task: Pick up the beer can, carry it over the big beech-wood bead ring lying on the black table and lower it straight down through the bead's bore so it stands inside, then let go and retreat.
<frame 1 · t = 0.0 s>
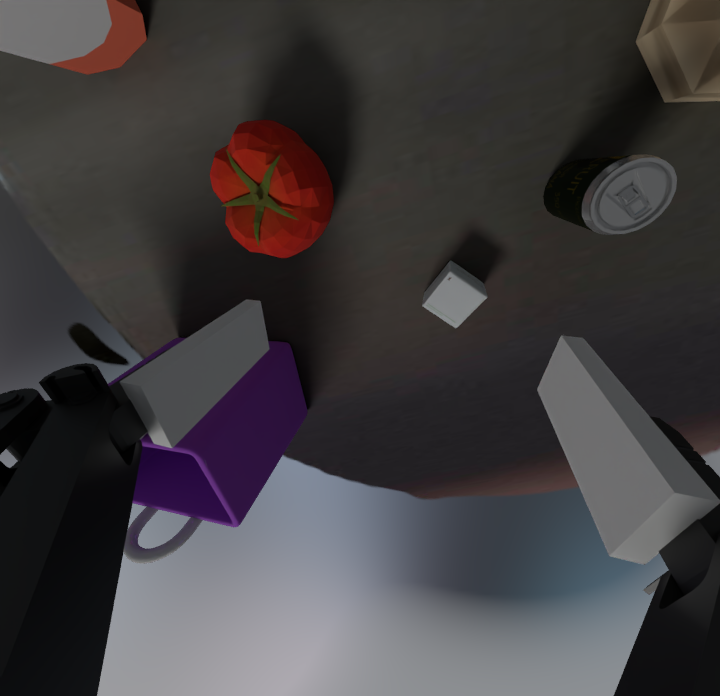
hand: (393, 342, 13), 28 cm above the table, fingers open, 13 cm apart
beer can: (569, 189, 31), on the table
shopping bag: (245, 374, 58), on the table
french fries container: (121, 30, 33), on the table
tomato: (295, 192, 38), on the table
small box: (452, 287, 39), on the table
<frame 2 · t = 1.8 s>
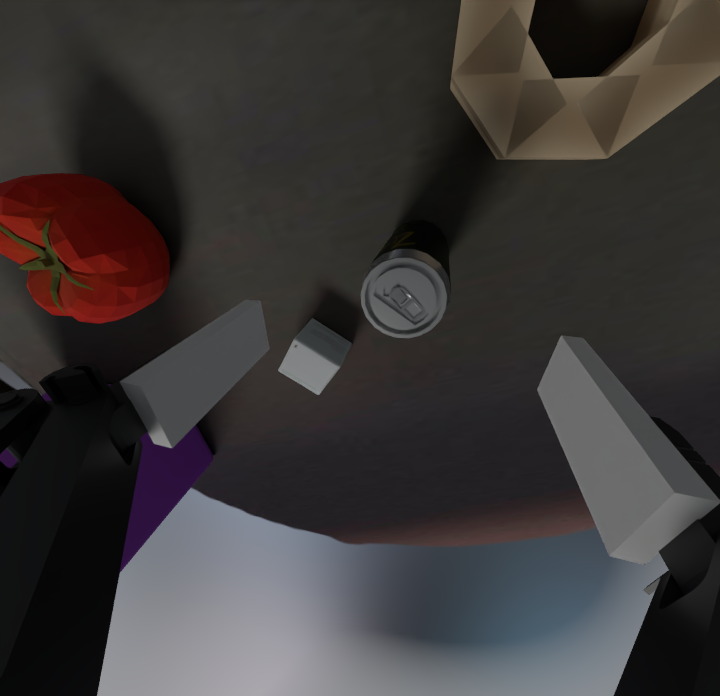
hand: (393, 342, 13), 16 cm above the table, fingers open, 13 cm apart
beer can: (417, 249, 26), on the table
shopping bag: (146, 417, 54), on the table
tomato: (139, 240, 33), on the table
small box: (323, 344, 35), on the table
bead ring: (579, 19, 17), on the table
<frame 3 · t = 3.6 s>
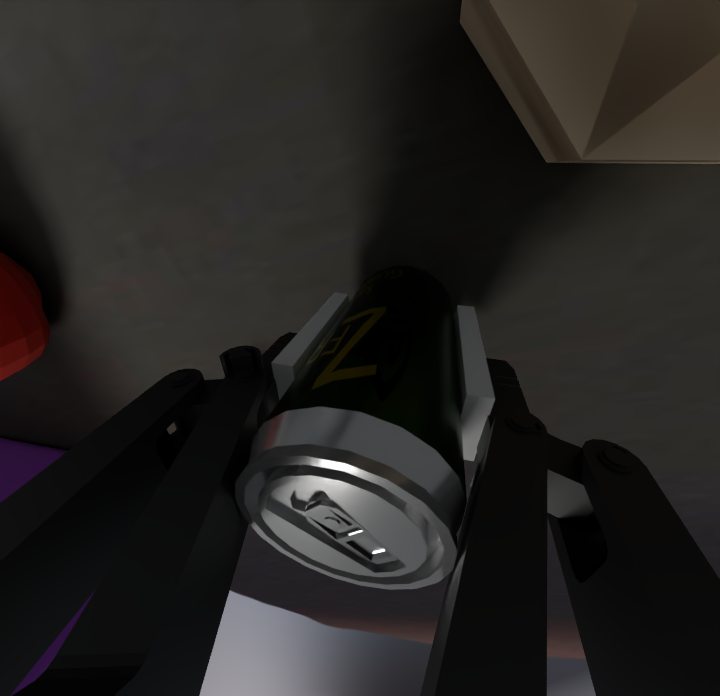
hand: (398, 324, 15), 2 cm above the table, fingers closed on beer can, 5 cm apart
beer can: (403, 308, 16), on the table, touching gripper
shopping bag: (76, 479, 44), on the table
tomato: (9, 276, 23), on the table
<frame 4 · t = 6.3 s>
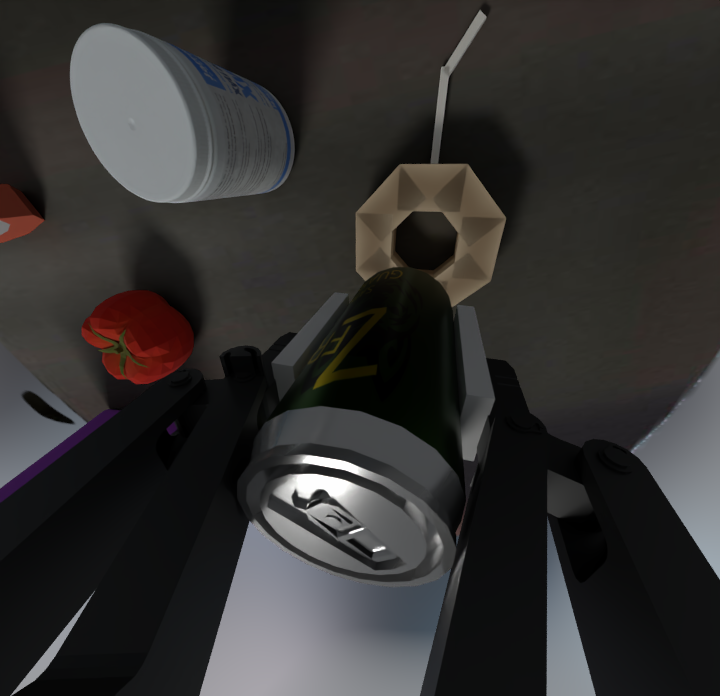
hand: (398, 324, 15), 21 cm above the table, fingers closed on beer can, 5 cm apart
beer can: (403, 309, 16), point 19 cm above the table, touching gripper
shopping bag: (167, 438, 68), on the table
french fries container: (26, 212, 43), on the table
tomato: (171, 321, 48), on the table
bead ring: (425, 240, 31), on the table
drinking straw: (439, 119, 26), on the table
supplement tub: (257, 143, 31), on the table
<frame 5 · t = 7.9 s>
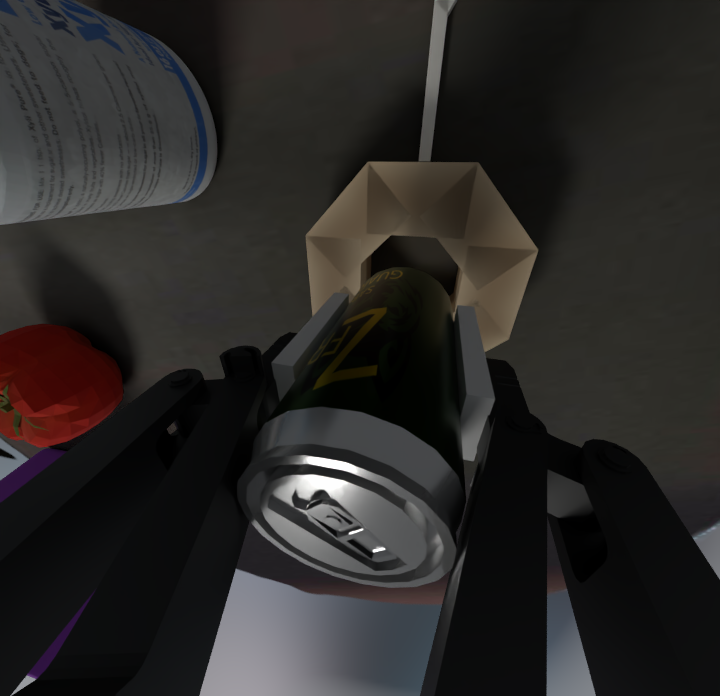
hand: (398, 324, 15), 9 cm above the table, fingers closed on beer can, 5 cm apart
beer can: (403, 309, 16), point 7 cm above the table, touching gripper
shopping bag: (117, 480, 58), on the table
tomato: (98, 358, 38), on the table
bead ring: (412, 272, 22), on the table
drinking straw: (432, 90, 16), on the table
supplement tub: (166, 129, 21), on the table
when the fingers open (5 cm above the table, at t = 9.0 s): beer can drops 3 cm, resting in bead ring.
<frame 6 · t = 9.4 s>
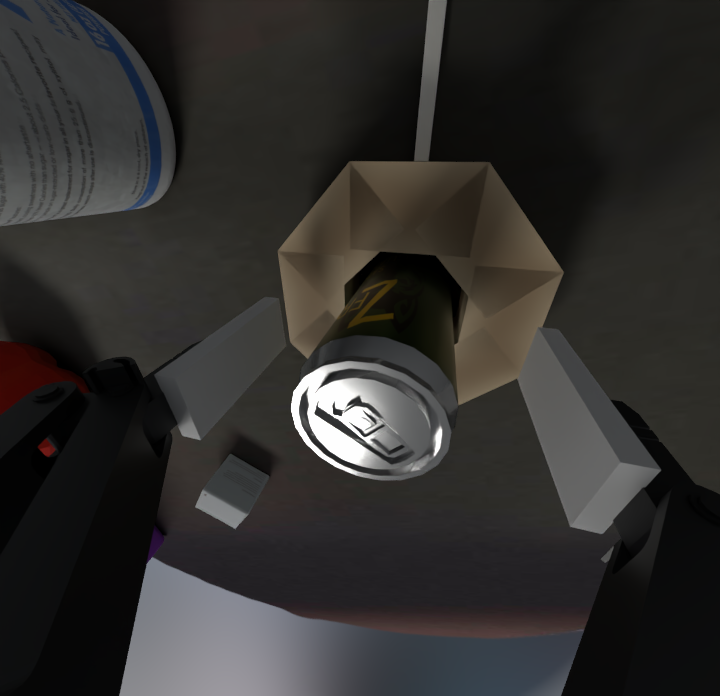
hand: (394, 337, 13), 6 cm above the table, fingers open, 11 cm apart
beer can: (407, 290, 19), resting in bead ring
tomato: (66, 376, 35), on the table
small box: (245, 471, 36), on the table
bead ring: (407, 291, 19), on the table
drinking straw: (431, 72, 13), on the table
supplement tub: (117, 123, 18), on the table
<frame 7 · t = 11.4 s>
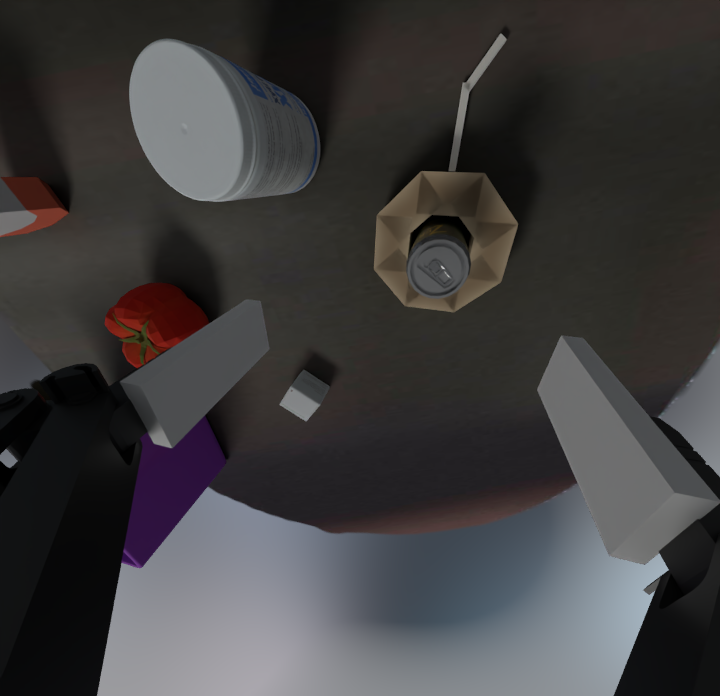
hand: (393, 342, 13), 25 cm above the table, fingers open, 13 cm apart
beer can: (439, 242, 34), resting in bead ring
shopping bag: (175, 429, 70), on the table
french fries container: (50, 204, 45), on the table
tomato: (188, 313, 49), on the table
small box: (311, 385, 51), on the table
bead ring: (439, 242, 33), on the table
drinking straw: (458, 130, 28), on the table
supplement tub: (283, 146, 33), on the table
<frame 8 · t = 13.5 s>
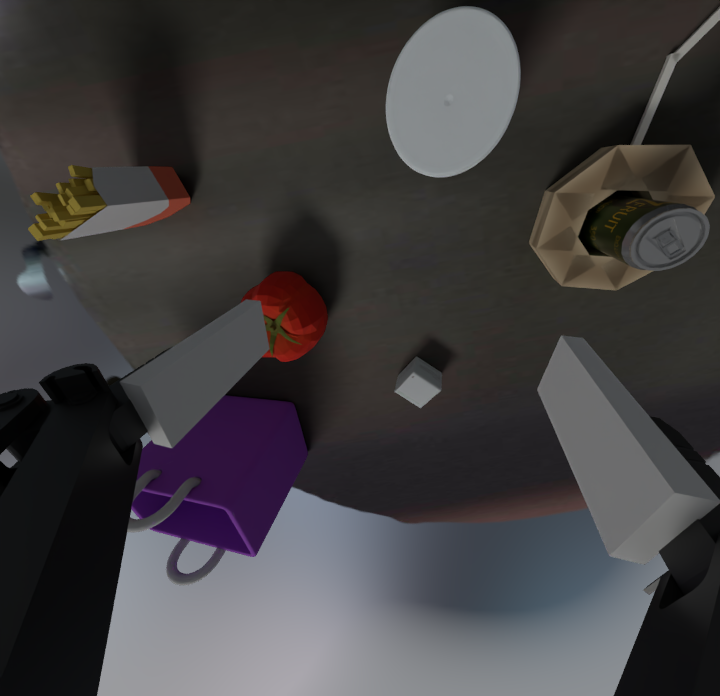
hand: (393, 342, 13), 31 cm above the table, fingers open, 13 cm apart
beer can: (600, 220, 33), resting in bead ring
shopping bag: (256, 421, 70), on the table
french fries container: (171, 195, 45), on the table
tomato: (299, 303, 49), on the table
small box: (419, 373, 51), on the table
bead ring: (601, 220, 33), on the table
drinking straw: (651, 103, 28), on the table
supplement tub: (447, 127, 32), on the table
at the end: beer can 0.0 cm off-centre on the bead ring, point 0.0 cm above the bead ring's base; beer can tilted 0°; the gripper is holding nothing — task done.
